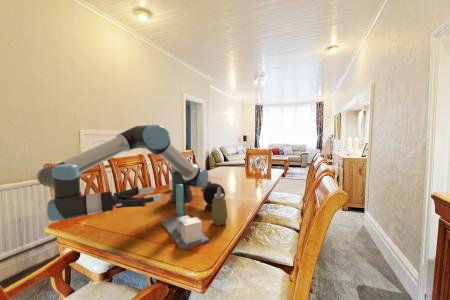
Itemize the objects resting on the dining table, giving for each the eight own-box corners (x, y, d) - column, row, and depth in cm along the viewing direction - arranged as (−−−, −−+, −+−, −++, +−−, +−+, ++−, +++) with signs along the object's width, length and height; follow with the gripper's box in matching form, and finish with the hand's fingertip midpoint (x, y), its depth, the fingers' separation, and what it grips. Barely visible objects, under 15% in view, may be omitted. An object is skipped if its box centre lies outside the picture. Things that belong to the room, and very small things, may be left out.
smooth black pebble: (222, 203, 132) (222, 180, 131) (227, 211, 119) (227, 185, 118) (201, 205, 129) (201, 181, 128) (204, 213, 116) (204, 187, 115)
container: (182, 188, 171) (182, 172, 170) (177, 190, 164) (177, 174, 163) (174, 187, 173) (174, 172, 172) (169, 190, 166) (168, 174, 165)
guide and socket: (161, 222, 105) (160, 205, 104) (183, 217, 111) (183, 201, 110) (181, 250, 79) (180, 228, 78) (209, 241, 85) (208, 221, 85)
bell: (208, 192, 158) (208, 183, 157) (198, 190, 166) (198, 181, 165) (219, 189, 167) (219, 180, 166) (208, 187, 174) (208, 178, 174)
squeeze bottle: (221, 228, 97) (221, 190, 96) (208, 224, 102) (207, 188, 100) (230, 221, 104) (230, 186, 103) (217, 218, 109) (216, 184, 107)
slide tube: (176, 225, 98) (175, 184, 96) (182, 223, 99) (181, 183, 98) (188, 239, 84) (187, 192, 83) (195, 237, 86) (194, 191, 84)
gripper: (101, 202, 91) (151, 194, 101) (101, 224, 69) (165, 210, 80) (99, 186, 90) (150, 179, 101) (100, 202, 69) (164, 191, 79)
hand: (157, 193), depth 90 cm, fingers open, 13 cm apart
